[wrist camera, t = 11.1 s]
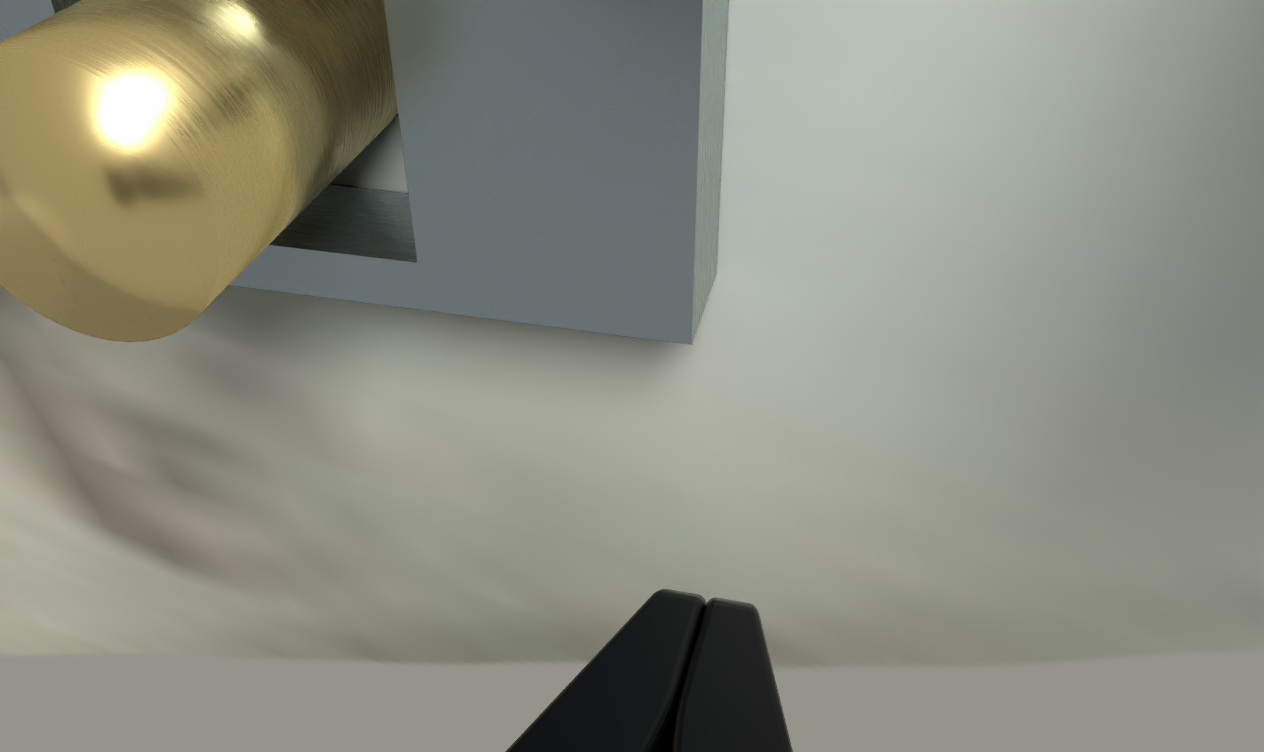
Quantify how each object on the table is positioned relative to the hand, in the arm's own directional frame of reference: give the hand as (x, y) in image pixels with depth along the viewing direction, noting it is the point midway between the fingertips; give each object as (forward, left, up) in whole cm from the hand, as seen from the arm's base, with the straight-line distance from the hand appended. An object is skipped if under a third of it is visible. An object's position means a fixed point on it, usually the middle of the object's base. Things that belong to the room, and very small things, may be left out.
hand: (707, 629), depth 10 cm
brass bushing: (+10, 0, -12) cm, 16 cm away
